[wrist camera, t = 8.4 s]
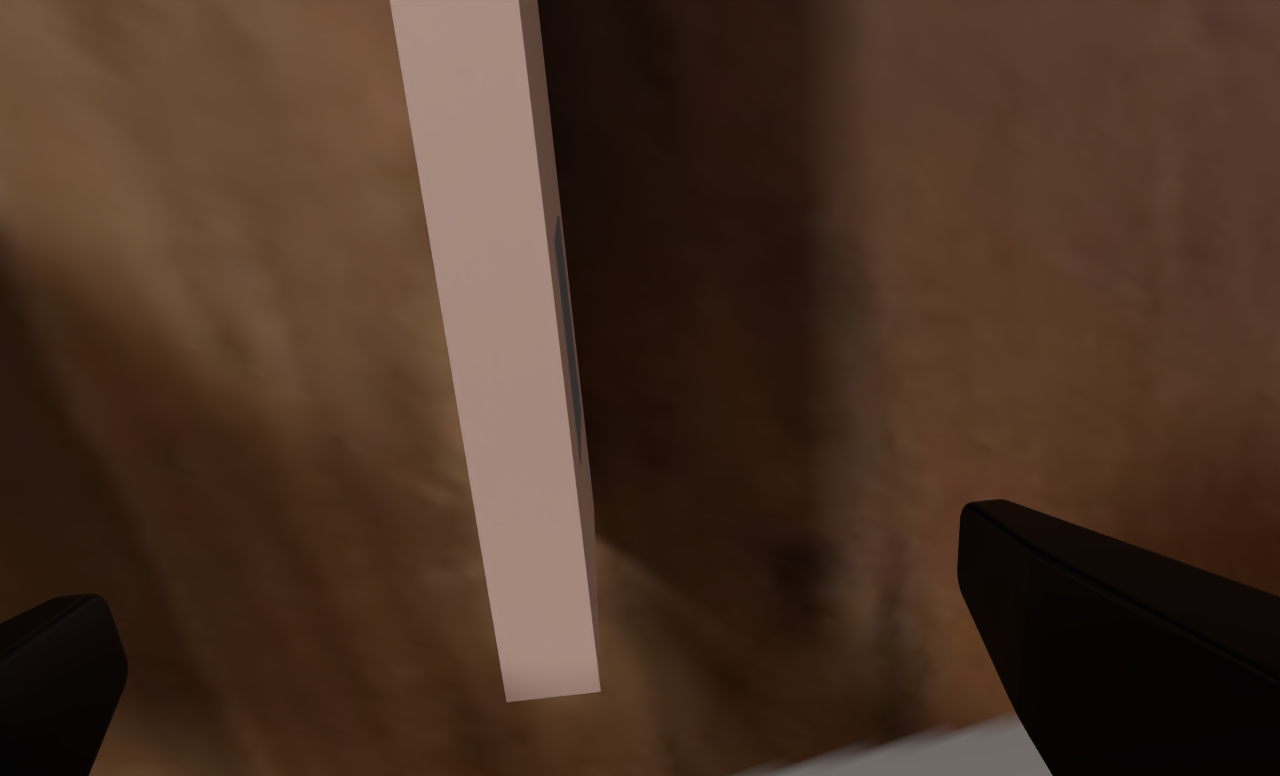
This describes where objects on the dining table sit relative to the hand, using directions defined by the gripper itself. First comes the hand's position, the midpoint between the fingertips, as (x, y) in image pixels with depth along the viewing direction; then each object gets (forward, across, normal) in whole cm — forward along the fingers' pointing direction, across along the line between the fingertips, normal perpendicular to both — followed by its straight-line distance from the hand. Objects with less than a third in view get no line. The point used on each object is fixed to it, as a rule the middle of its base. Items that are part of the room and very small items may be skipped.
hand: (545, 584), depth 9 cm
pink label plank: (+6, 0, -9) cm, 11 cm away
